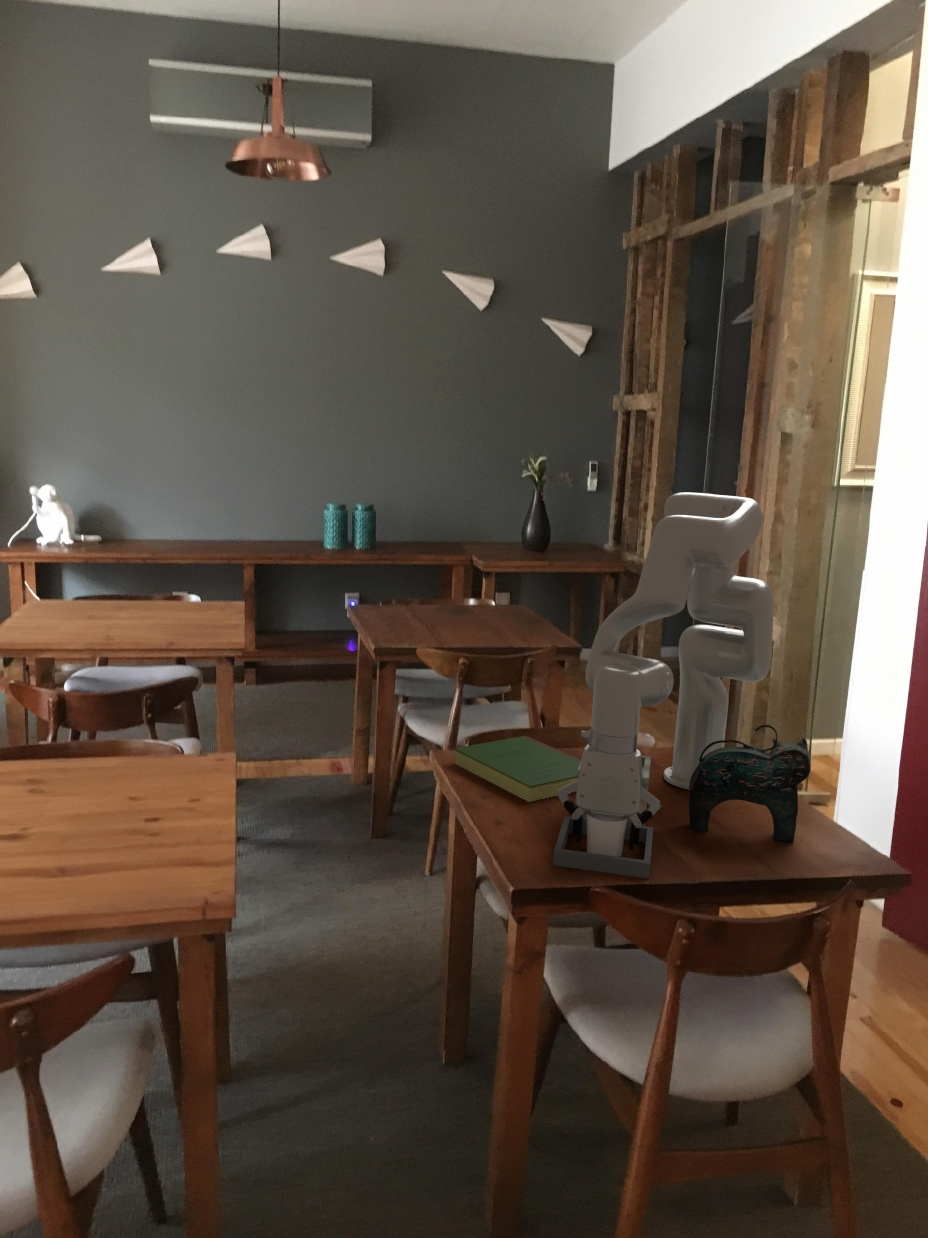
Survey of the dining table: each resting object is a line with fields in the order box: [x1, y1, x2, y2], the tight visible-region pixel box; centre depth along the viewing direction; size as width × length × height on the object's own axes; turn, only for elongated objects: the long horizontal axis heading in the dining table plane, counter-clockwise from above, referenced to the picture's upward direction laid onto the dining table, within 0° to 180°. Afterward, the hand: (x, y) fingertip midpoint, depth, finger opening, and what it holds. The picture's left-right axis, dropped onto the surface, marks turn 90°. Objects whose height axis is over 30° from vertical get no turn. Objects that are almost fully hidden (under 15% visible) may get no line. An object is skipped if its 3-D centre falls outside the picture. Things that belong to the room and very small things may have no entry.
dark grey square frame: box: [552, 815, 654, 880], centre depth 166 cm, size 15×15×2 cm
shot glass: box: [586, 810, 629, 857], centre depth 165 cm, size 7×7×7 cm
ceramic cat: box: [688, 724, 812, 843], centre depth 175 cm, size 20×6×20 cm, turn 78°
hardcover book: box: [453, 735, 581, 803], centre depth 201 cm, size 25×19×4 cm
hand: (604, 843), depth 166 cm, fingers open, 8 cm apart
